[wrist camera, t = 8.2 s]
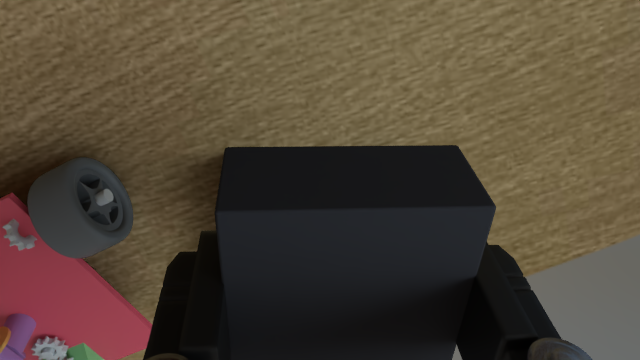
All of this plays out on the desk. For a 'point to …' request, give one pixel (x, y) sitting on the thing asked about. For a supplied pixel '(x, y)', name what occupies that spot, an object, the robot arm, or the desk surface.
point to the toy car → (65, 268)
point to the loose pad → (348, 250)
